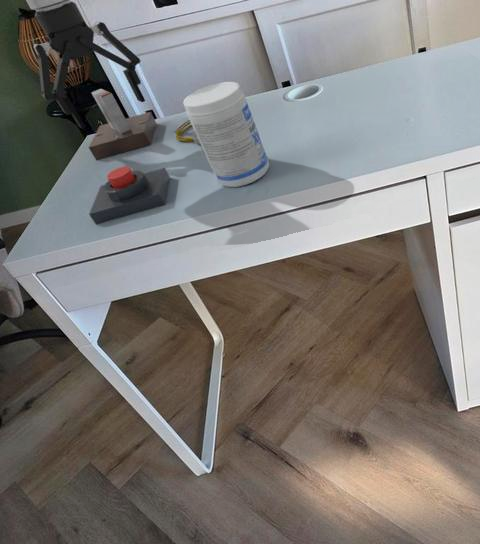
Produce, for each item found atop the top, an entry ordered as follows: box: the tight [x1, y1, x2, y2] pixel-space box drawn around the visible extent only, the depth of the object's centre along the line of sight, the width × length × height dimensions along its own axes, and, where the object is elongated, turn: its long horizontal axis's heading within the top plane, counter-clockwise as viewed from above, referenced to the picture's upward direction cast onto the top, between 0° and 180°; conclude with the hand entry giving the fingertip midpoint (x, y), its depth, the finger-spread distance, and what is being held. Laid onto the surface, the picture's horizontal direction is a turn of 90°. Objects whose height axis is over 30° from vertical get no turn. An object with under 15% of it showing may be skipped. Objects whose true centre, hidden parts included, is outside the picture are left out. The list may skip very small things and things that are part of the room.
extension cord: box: [175, 120, 201, 146], centre depth 103 cm, size 12×16×2 cm
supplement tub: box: [182, 81, 270, 188], centre depth 81 cm, size 10×10×15 cm
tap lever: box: [91, 88, 131, 134], centre depth 104 cm, size 7×2×8 cm, turn 43°
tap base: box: [88, 111, 157, 161], centre depth 108 cm, size 12×12×3 cm
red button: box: [106, 166, 136, 188], centre depth 84 cm, size 4×4×2 cm
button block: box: [88, 167, 171, 225], centre depth 85 cm, size 12×10×4 cm
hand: (112, 113), depth 105 cm, fingers open, 13 cm apart
